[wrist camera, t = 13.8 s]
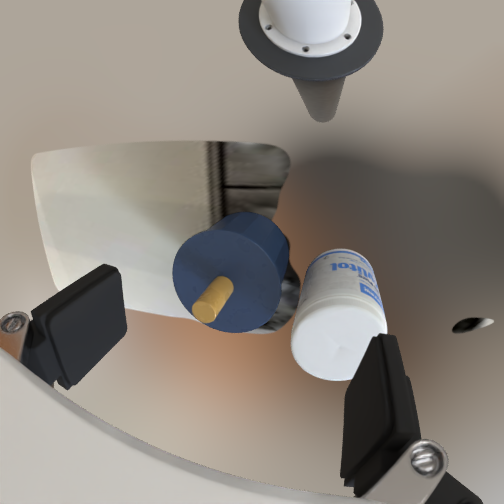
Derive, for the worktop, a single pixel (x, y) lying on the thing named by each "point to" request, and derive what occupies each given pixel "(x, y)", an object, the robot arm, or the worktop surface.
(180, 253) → the lid
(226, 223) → the tin
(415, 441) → the robot arm
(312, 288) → the supplement tub
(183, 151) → the worktop surface
